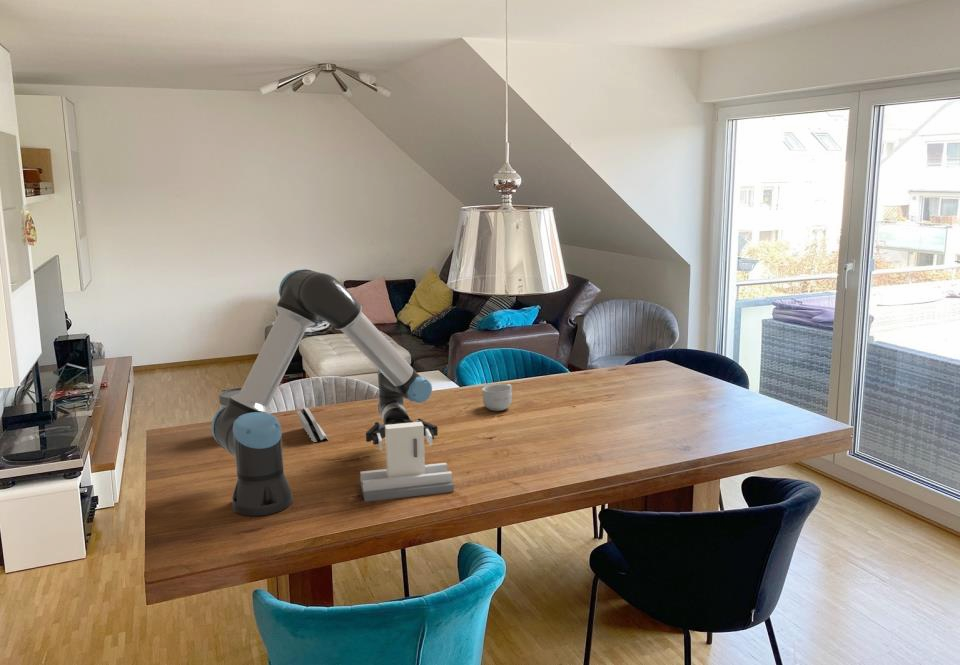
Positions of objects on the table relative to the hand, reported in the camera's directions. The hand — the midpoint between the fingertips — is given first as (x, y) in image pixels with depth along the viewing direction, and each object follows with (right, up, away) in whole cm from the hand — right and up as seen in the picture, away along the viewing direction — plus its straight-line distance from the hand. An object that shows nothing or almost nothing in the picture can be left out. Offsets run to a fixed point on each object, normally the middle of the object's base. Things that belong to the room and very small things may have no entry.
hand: (406, 443), depth 208 cm
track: (0, -12, +2) cm, 13 cm away
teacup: (+27, +2, +72) cm, 77 cm away
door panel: (0, -11, +2) cm, 11 cm away
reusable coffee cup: (-58, -4, +45) cm, 74 cm away
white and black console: (-36, -4, +45) cm, 58 cm away
